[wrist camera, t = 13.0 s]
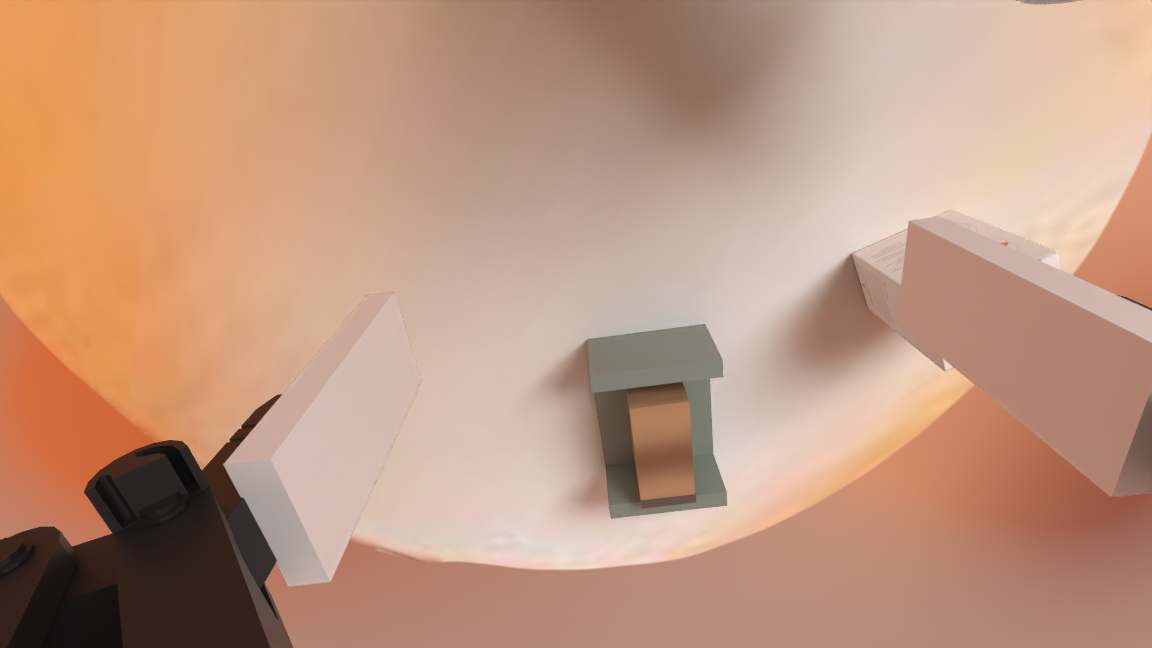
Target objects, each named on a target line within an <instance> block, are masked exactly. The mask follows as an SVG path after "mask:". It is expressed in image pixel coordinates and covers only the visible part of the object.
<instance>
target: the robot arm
mask: <svg viewBox="0 0 1152 648" xmlns="http://www.w3.org/2000/svg"><path fill="white" fill-rule="evenodd" d="M1016 1H1020V2H1022V3H1025V4H1058V3H1067V2H1074V1H1080V0H1016ZM897 321H898V322H899V323H901V324H902V325H903V326H904V327H905V328H907V329H908V330H909V331H910V332H911V333H913V334H914V335H915V336H916V337H918V338H919V339H920V340H921V341H922V342H924V343H925V344H926V345H927V346H928V347H930V348H931V349H932V350H933V351H935V352H936V353H937V354H938V355H939V356H941V357H942V358H943V359H944V360H945V361H947V362H948V363H949V364H950V365H951V366H953V367H954V368H955V369H956V370H958V371H959V372H960V373H961V374H962V375H964V376H965V377H966V378H967V379H968V380H970V381H971V382H972V383H973V384H975V385H976V386H977V387H978V388H979V389H981V390H982V391H983V392H984V393H985V394H987V395H988V396H989V397H990V398H992V399H993V400H994V401H995V402H997V403H998V404H999V405H1000V406H1001V407H1002V408H1004V409H1005V410H1006V411H1007V412H1009V413H1010V414H1011V415H1012V416H1013V417H1015V418H1016V419H1017V420H1019V421H1020V422H1021V423H1022V424H1023V425H1025V426H1026V427H1027V428H1028V429H1029V430H1030V431H1032V432H1033V433H1034V434H1035V435H1036V436H1038V437H1039V438H1040V439H1041V440H1043V441H1044V442H1045V443H1046V444H1047V445H1049V446H1050V447H1051V448H1052V449H1054V450H1055V451H1056V452H1057V453H1058V454H1060V455H1061V456H1062V457H1063V458H1064V459H1066V460H1067V461H1068V462H1069V463H1071V464H1072V465H1073V466H1074V467H1075V468H1077V469H1078V470H1079V471H1080V472H1082V473H1083V474H1084V475H1085V476H1086V477H1088V478H1089V479H1090V480H1091V481H1092V482H1094V483H1095V484H1096V485H1097V486H1098V487H1100V488H1101V489H1102V490H1103V491H1104V492H1106V493H1107V494H1108V495H1109V496H1111V497H1118V496H1128V495H1136V494H1146V493H1152V308H1149V307H1147V306H1145V305H1142V304H1140V303H1138V302H1136V301H1133V300H1131V299H1129V298H1127V297H1123V296H1119V295H1115V294H1113V293H1111V292H1108V291H1106V290H1104V289H1102V288H1099V287H1097V286H1095V285H1093V284H1090V283H1088V282H1086V281H1084V280H1081V279H1079V278H1077V277H1075V276H1072V275H1070V274H1068V273H1066V272H1064V271H1061V270H1059V269H1057V268H1055V267H1052V266H1050V265H1048V264H1046V263H1043V262H1041V261H1039V260H1037V259H1034V258H1032V257H1030V256H1028V255H1025V254H1023V253H1021V252H1019V251H1016V250H1014V249H1012V248H1010V247H1007V246H1005V245H1003V244H1001V243H998V242H996V241H994V240H992V239H989V238H987V237H985V236H983V235H980V234H978V233H976V232H974V231H971V230H969V229H967V228H965V227H962V226H960V225H958V224H956V223H953V222H951V221H949V220H947V219H944V218H942V217H935V218H928V219H920V220H913V221H909V223H908V232H907V240H906V248H905V256H904V264H903V272H902V281H901V289H900V297H899V305H898V313H897ZM421 382H422V380H421V377H420V374H419V370H418V367H417V364H416V361H415V357H414V354H413V351H412V348H411V344H410V341H409V338H408V335H407V332H406V328H405V325H404V322H403V319H402V315H401V312H400V309H399V306H398V303H397V299H396V296H395V293H394V292H389V293H382V294H374V295H367V296H365V297H364V298H363V299H362V301H361V302H360V303H359V304H358V305H357V307H356V308H355V309H354V310H353V311H352V312H351V314H350V315H349V316H348V317H347V318H346V320H345V321H344V322H343V323H342V324H341V326H340V327H339V328H338V329H337V330H336V331H335V333H334V334H333V335H332V336H331V337H330V339H329V340H328V341H327V342H326V343H325V344H324V346H323V347H322V348H321V349H320V350H319V352H318V353H317V354H316V355H315V356H314V357H313V359H312V360H311V361H310V362H309V363H308V365H307V366H306V367H305V368H304V369H303V371H302V372H301V373H300V374H299V375H298V376H297V378H296V379H295V380H294V381H293V382H292V384H291V385H290V386H289V387H288V388H287V389H286V391H285V392H284V393H283V394H280V395H276V396H275V397H273V398H272V399H271V400H269V401H268V402H266V403H265V404H263V405H262V406H261V407H259V408H258V409H256V410H255V411H254V412H253V414H252V415H251V416H250V417H249V418H248V419H247V420H246V421H245V423H244V424H243V425H242V429H238V431H237V432H236V433H235V434H234V435H233V436H232V437H231V438H230V442H228V443H226V444H225V445H224V446H223V448H222V449H221V450H220V451H219V452H218V453H217V454H216V455H215V457H214V458H213V459H212V460H211V461H210V462H209V463H208V465H207V466H206V467H205V468H204V469H203V470H202V471H201V469H200V467H199V465H198V464H197V462H196V460H195V458H194V456H193V455H192V453H191V451H190V449H189V448H188V446H187V445H186V444H185V443H183V442H182V441H174V440H168V441H163V442H158V443H153V444H150V445H147V446H145V447H142V448H139V449H136V450H134V451H132V452H130V453H128V454H126V455H124V456H122V457H120V458H118V459H116V460H114V461H113V462H112V463H110V464H109V465H107V466H106V467H104V468H103V469H101V470H100V471H99V472H98V473H97V474H96V475H95V476H94V477H93V478H92V479H91V480H90V481H89V482H88V484H87V486H86V489H85V491H84V493H85V494H86V496H87V497H88V498H89V500H90V501H91V503H92V504H93V506H94V507H95V509H96V510H97V511H98V513H99V514H100V516H101V517H102V519H103V520H104V522H105V523H106V524H107V526H108V527H109V529H110V530H111V531H112V533H113V534H110V535H107V536H104V537H101V538H97V539H94V540H91V541H88V542H85V543H82V544H79V545H76V546H73V547H72V546H71V545H70V544H69V542H68V541H67V540H66V538H65V537H64V536H63V534H62V533H61V532H60V531H59V530H58V529H56V528H55V527H38V528H34V529H31V530H27V531H23V532H21V533H18V534H16V535H14V536H12V537H9V538H4V539H2V540H0V648H293V646H292V644H291V641H290V639H289V636H288V634H287V632H286V629H285V627H284V624H283V622H282V619H281V617H280V615H279V612H278V610H277V608H276V605H275V603H274V600H273V598H272V596H271V594H270V592H269V590H268V589H267V587H266V585H265V583H264V582H265V581H266V579H267V577H268V575H269V574H270V572H271V570H272V568H273V567H274V565H275V563H276V564H277V566H278V568H279V570H280V572H281V573H282V575H283V577H284V579H285V581H286V583H287V585H288V586H298V585H307V584H316V583H326V582H331V580H332V577H333V575H334V573H335V571H336V568H337V566H338V564H339V562H340V560H341V558H342V555H343V553H344V551H345V549H346V547H347V545H348V542H349V540H350V538H351V536H352V534H353V531H354V529H355V527H356V525H357V523H358V520H359V518H360V516H361V514H362V512H363V509H364V507H365V505H366V503H367V501H368V498H369V496H370V494H371V492H372V490H373V487H374V485H375V483H376V481H377V479H378V476H379V474H380V472H381V470H382V468H383V465H384V463H385V461H386V459H387V457H388V454H389V452H390V450H391V448H392V446H393V443H394V441H395V439H396V437H397V435H398V432H399V430H400V428H401V426H402V424H403V421H404V419H405V417H406V415H407V413H408V410H409V408H410V406H411V404H412V402H413V399H414V397H415V395H416V393H417V391H418V388H419V386H420V384H421Z"/></svg>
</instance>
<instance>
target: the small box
mask: <svg viewBox="0 0 1152 648" xmlns="http://www.w3.org/2000/svg"><path fill="white" fill-rule="evenodd" d="M936 217H942V218H944V219H947V220H949V221H951V222H953V223H956V224H958V225H960V226H962V227H965V228H967V229H969V230H971V231H974V232H976V233H978V234H980V235H983V236H985V237H987V238H989V239H992V240H994V241H996V242H998V243H1001V244H1003V245H1005V246H1007V247H1010V248H1012V249H1014V250H1016V251H1019V252H1021V253H1023V254H1025V255H1028V256H1030V257H1032V258H1034V259H1037V260H1039V261H1041V262H1043V263H1046V264H1048V265H1050V266H1052V267H1055V268H1057V269H1059V270H1060V266H1059V256H1058V252H1057V251H1056V250H1053V249H1050V248H1048V247H1045V246H1043V245H1040V244H1038V243H1035V242H1033V241H1030V240H1028V239H1025V238H1022V237H1020V236H1018V235H1015V234H1013V233H1010V232H1007V231H1005V230H1002V229H1000V228H997V227H995V226H992V225H989V224H987V223H984V222H982V221H979V220H976V219H974V218H972V217H969V216H966V215H964V214H961V213H959V212H956V211H954V210H949V211H947V212H945V213H943V214H941V215H938V216H936ZM934 218H935V217H934ZM907 232H908V229H907V230H904V231H902V232H900V233H898V234H895V235H893V236H891V237H889V238H886V239H884V240H882V241H880V242H877V243H875V244H873V245H871V246H868V247H866V248H864V249H862V250H859V251H857V252H855V253H853V254H852V256H853V259H854V262H855V265H856V269H857V272H858V276H859V279H860V282H861V286H862V289H863V293H864V296H865V299H866V303H867V306H868V309H869V310H870V311H871V312H872V313H874V314H875V315H876V316H877V317H879V318H880V319H881V320H882V321H883V322H885V323H886V324H887V325H888V326H890V327H891V328H892V329H893V330H894V331H896V332H897V333H898V334H899V335H900V336H902V337H903V338H904V339H905V340H907V341H908V342H909V343H910V344H912V345H913V346H914V347H915V348H916V349H918V350H919V351H920V352H921V353H922V354H924V355H925V356H926V357H927V358H929V359H930V360H931V361H932V362H934V363H935V364H936V365H937V366H939V367H940V368H941V369H942V370H944V371H948V370H950V369H952V368H954V367H953V366H951V365H950V364H949V363H948V362H947V361H945V360H944V359H943V358H942V357H941V356H939V355H938V354H937V353H936V352H935V351H933V350H932V349H931V348H930V347H928V346H927V345H926V344H925V343H924V342H922V341H921V340H920V339H919V338H918V337H916V336H915V335H914V334H913V333H911V332H910V331H909V330H908V329H907V328H905V327H904V326H903V325H902V324H901V323H899V322H898V321H897V313H898V305H899V297H900V289H901V281H902V272H903V264H904V256H905V248H906V240H907Z"/></svg>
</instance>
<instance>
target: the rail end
mask: <svg viewBox="0 0 1152 648" xmlns="http://www.w3.org/2000/svg"><path fill="white" fill-rule="evenodd" d="M626 397H627V405H628V414H629V422H630V430H631V438H632V446H633V459H634V466H635V472H636V479H637V486H638V492H639V499H640V505H641V509H643V508H652V507H661V506H670V505H679V504H688V503H696V493H695V484H694V468H693V453H692V437H691V421H690V405H689V399H688V396H687V393H686V391H685V388H684V385H683V382H677V383H669V384H661V385H653V386H645V387H637V388H629V389H626Z"/></svg>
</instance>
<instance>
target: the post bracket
mask: <svg viewBox="0 0 1152 648" xmlns="http://www.w3.org/2000/svg"><path fill="white" fill-rule="evenodd" d="M587 347H588V365H589V379H590V385H591V392H592V393H595V399H596V405H597V412H598V418H599V425H600V431H601V438H602V445H603V451H604V458H605V464H606V475H607V487H608V499H609V508H610V515H611V518H619V517H628V516H637V515H646V514H655V513H664V512H673V511H682V510H691V509H700V508H709V507H718V506H727V492H726V489H725V486H724V483H723V481H722V478H721V475H720V472H719V469H718V466H717V464H716V461H715V458H714V455H713V441H712V418H711V394H710V378H717V377H723V360H722V358H721V356H720V354H719V352H718V350H717V347H716V345H715V343H714V341H713V339H712V337H711V335H710V333H709V331H708V329H707V327H706V325H705V324H703V325H695V326H688V327H680V328H672V329H665V330H657V331H649V332H641V333H634V334H626V335H618V336H611V337H603V338H595V339H588V340H587ZM677 382H683V385H684V388H685V391H686V393H687V396H688V399H689V405H690V421H691V437H692V453H693V468H694V484H695V493H696V503H688V504H679V505H670V506H661V507H652V508H643V509H641V505H640V499H639V492H638V486H637V479H636V472H635V466H634V459H633V446H632V438H631V430H630V422H629V414H628V405H627V397H626V389H629V388H637V387H645V386H653V385H661V384H669V383H677Z"/></svg>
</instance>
